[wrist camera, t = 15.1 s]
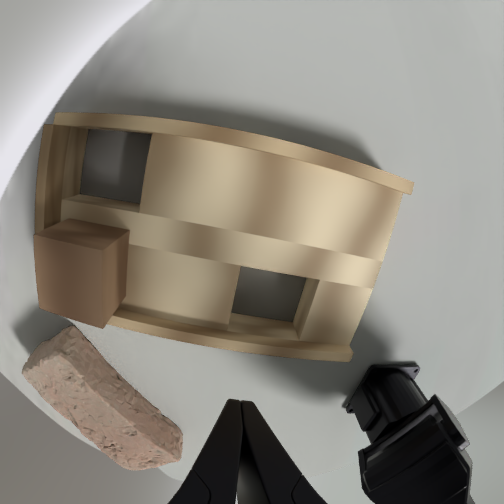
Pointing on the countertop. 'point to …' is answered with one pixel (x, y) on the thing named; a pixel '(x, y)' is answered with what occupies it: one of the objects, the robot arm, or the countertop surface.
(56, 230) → the walnut block
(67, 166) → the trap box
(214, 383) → the countertop surface
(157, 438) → the brick
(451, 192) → the countertop surface
